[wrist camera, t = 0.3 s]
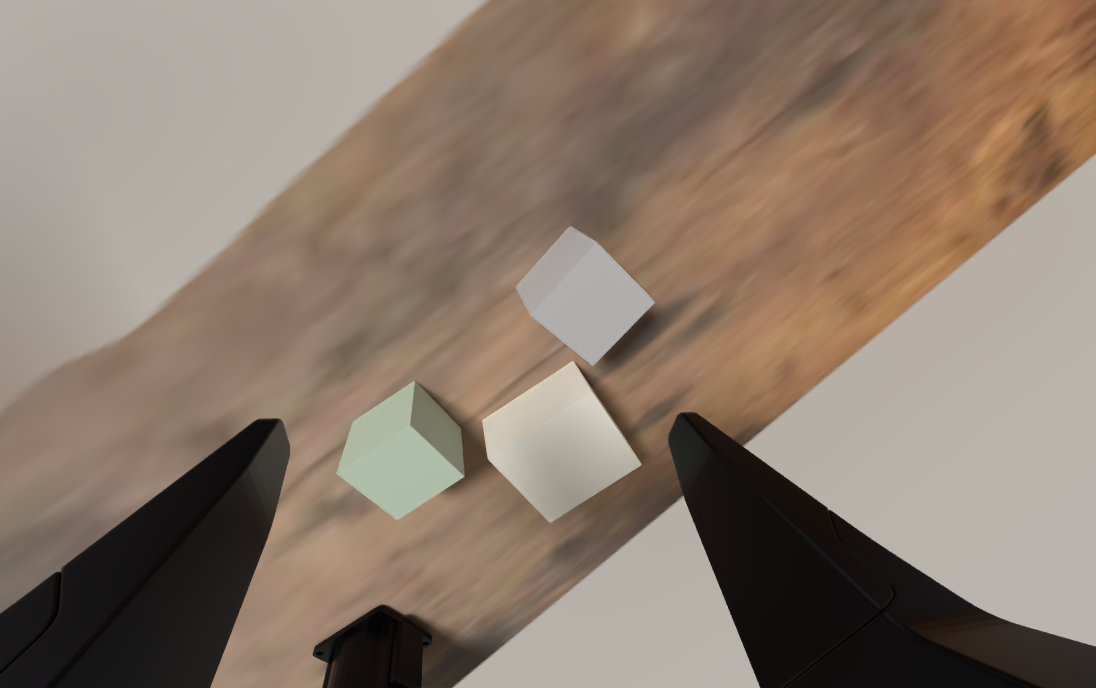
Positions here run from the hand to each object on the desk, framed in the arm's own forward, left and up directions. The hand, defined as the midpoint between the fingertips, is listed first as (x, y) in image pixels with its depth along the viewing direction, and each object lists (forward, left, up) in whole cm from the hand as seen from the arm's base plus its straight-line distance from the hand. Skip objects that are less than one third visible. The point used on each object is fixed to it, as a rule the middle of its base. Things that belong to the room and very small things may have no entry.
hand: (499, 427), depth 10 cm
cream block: (-2, -12, -15) cm, 19 cm away
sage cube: (-9, -6, -14) cm, 18 cm away
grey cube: (+4, -4, -14) cm, 16 cm away
